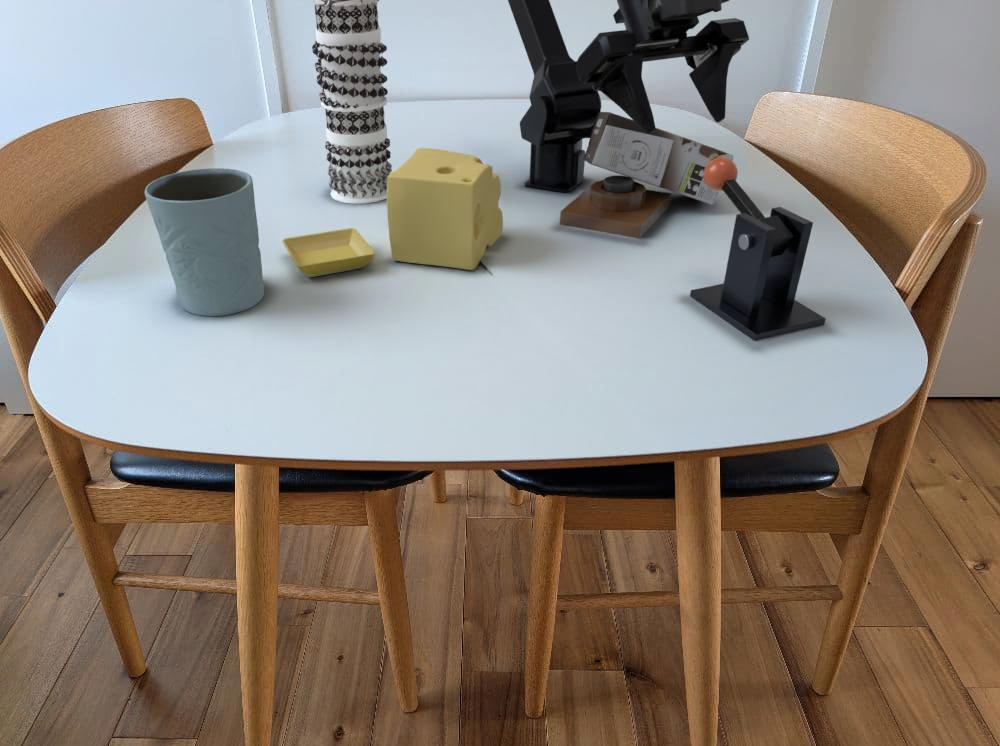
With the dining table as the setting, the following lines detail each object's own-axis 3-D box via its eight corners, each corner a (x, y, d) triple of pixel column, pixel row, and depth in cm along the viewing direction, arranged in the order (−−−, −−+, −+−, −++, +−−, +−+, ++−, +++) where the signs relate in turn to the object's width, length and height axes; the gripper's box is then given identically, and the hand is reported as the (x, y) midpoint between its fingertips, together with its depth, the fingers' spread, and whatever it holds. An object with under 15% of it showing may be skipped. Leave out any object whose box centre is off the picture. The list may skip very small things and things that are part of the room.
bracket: (688, 300, 81) (704, 206, 75) (754, 287, 83) (773, 195, 78) (753, 346, 73) (775, 244, 68) (823, 329, 75) (849, 230, 70)
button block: (559, 228, 97) (561, 196, 95) (594, 198, 106) (596, 168, 104) (639, 242, 93) (643, 209, 91) (668, 210, 102) (673, 179, 100)
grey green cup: (219, 328, 77) (195, 208, 71) (149, 304, 82) (119, 189, 75) (291, 289, 84) (274, 176, 78) (222, 269, 89) (201, 160, 82)
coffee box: (736, 154, 96) (609, 111, 94) (713, 206, 98) (589, 165, 97) (715, 148, 104) (598, 109, 103) (695, 197, 106) (580, 159, 105)
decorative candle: (330, 207, 105) (307, -7, 91) (325, 184, 112) (303, -17, 98) (399, 201, 106) (387, -10, 92) (390, 179, 114) (377, -19, 100)
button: (598, 196, 97) (599, 182, 96) (608, 187, 100) (610, 173, 99) (627, 201, 96) (628, 186, 95) (636, 192, 99) (638, 177, 98)
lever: (692, 179, 80) (704, 152, 77) (719, 174, 81) (731, 148, 78) (756, 263, 74) (771, 237, 71) (784, 257, 75) (801, 231, 72)
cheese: (503, 238, 95) (504, 153, 89) (474, 275, 87) (474, 184, 81) (421, 228, 98) (417, 146, 92) (386, 263, 90) (379, 174, 84)
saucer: (283, 255, 92) (280, 238, 91) (356, 243, 94) (354, 226, 93) (299, 285, 85) (297, 267, 84) (377, 271, 88) (376, 253, 87)
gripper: (608, -59, 75) (658, 99, 74) (760, -68, 81) (808, 76, 81) (554, 13, 85) (599, 151, 84) (694, -1, 92) (736, 128, 91)
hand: (687, 126), depth 85 cm, fingers open, 9 cm apart
